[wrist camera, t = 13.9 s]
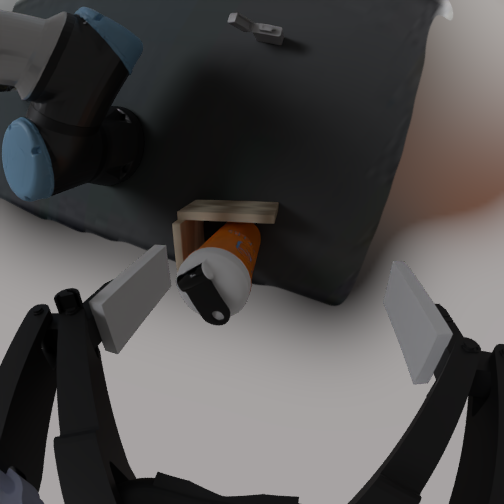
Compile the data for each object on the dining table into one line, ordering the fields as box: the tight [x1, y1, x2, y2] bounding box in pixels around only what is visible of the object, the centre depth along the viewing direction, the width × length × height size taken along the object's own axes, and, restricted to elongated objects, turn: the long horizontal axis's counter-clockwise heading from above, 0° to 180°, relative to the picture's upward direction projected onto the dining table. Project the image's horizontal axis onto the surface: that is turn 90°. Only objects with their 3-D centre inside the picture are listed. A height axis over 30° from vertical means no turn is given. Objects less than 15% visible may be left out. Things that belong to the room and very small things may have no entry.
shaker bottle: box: [176, 222, 261, 325], centre depth 39 cm, size 9×9×20 cm
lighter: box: [228, 13, 284, 45], centre depth 31 cm, size 7×2×8 cm, turn 76°
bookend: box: [172, 200, 279, 273], centre depth 43 cm, size 14×10×10 cm
